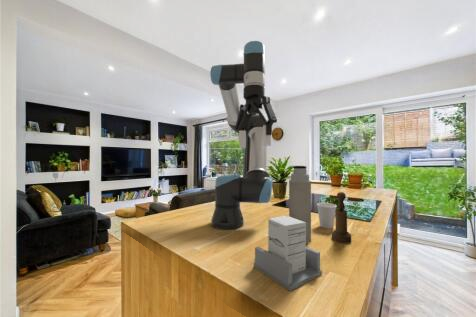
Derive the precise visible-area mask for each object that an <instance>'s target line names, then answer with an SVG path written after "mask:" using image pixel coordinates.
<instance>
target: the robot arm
mask: <svg viewBox="0 0 476 317" xmlns="http://www.w3.org/2000/svg"><path fill="white" fill-rule="evenodd" d="M265 50H266V49H265V45H264V43H263V42H262V41H259V40H250V41H248V42H246V43H245V44H244V47H243V52H242V54H243V55H242V56H243V63H234V64H232V63H231V64H218V65H212V66H211V67H210V70H209V71H210V72H209V74H210V81H211V84H213V85H216V86H218V87H219V91H220V95H221V97H222V101H223V104H224V105H223V106H224V108H225V111H226V115H227V116H226V122H227V124H228V126H229V127H230V128H231V130H233V131H234V132H235V133H236V134H238V148H240V149H246V148H247V145H246V144H247V141H246V140H247V138H246V137H247V136H248V138H250V151H249V164H248V166H249V167H248V171H247V172H246V173H245V176H241V174H240V173H234V174H227V175H226V174H225V175H220V176H217V177H216V178H215V185H214V191H215V192H214V194H215V196H214V197H215V198H214V199H215V200H214V204H215V205H214V206H215V207H214V210H213V214H212V216H211V220H210V221H211V223H210V226H212V227H213V228H214V229H219V230H235V229H239V228H242V227H243V226H244V224H245V222H244V221H245V220H244V216H243V213H242V210H241V203H250V204H268V203H269V202H270V201H271V197H272V194H273V193H272V191H273V183H274V181H273V180H274V179H273V177H271V176H270V173H269V172H268V171H267V158H268V157H267V155H268V154H267V153H268V152H267V150H268V149H267V147H268V146H269V147H270V146H272V145H271V144H272V142H271V141H272V140H271V138H272V137H271V135H272V134H273V125H274V123H275V124H276V123H277V121H278V119H277V116H276V114H275V112H274V109H273V107H272V104H271V98H270V96H266V95H265V93H266V92H265V91H266V90H265V84H266V83H265V82H266V81H265V80H266V78H265V76H266V71H265V70H266V69H265V67H266V66H265V65H266V64H265V63H266V60H265V59H266V58H265V54H266V51H265ZM237 84H243V99H244V100H245V104H240V99H239V94H238V87H237Z"/></svg>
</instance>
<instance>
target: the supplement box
mask: <svg viewBox="0 0 476 317" xmlns="http://www.w3.org/2000/svg"><path fill="white" fill-rule="evenodd" d="M267 219H268V224H267V225H268V229H267V230H268V232H267V234H268V235H267V238H268V242H267V246H268V247H267V248H268V249H267V251H268V252H270V253H272V254H274V255H275V256H277V257H279V258H281V259H283V260H285V261H287V262H289V263H291V264H292V274H294V273H297V272H299V271H302V270H305V269H306V247H307V243H306V222H303V221H300V220H297V219H295V218H292V217H289V215H283V216H277V217H271V218H270V217H269V218H267Z"/></svg>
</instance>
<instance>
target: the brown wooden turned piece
mask: <svg viewBox="0 0 476 317" xmlns="http://www.w3.org/2000/svg"><path fill="white" fill-rule="evenodd" d="M336 197H337V200H338V203H337V207H338V209H337V208H336V210H335V230H333V231H331V240H333V241H334V242H337V243H340V244H350V243H351V242H352V234H351V233H350V232H349V231H348V210H346V209H344V208H345V204H344V201H345V200H346V197H347V196H346V193H344V192H342V191H341V192H340V191H339V192H337V194H336Z"/></svg>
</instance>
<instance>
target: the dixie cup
mask: <svg viewBox="0 0 476 317" xmlns="http://www.w3.org/2000/svg"><path fill="white" fill-rule="evenodd" d="M316 205H317V212H318V220H319V226H320V228H323V229H334V225H335V221H336V212H335V210H337V207H338V205H337V204H334V203H328V202H319V203H316Z"/></svg>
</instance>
